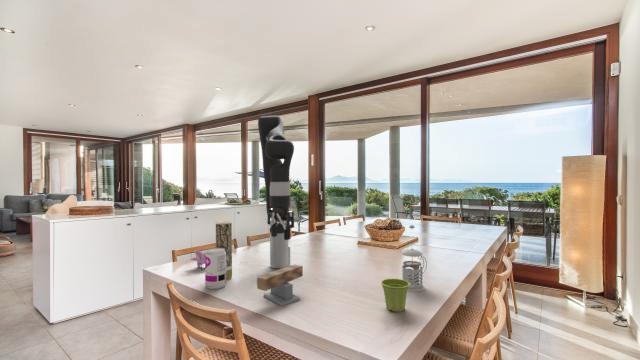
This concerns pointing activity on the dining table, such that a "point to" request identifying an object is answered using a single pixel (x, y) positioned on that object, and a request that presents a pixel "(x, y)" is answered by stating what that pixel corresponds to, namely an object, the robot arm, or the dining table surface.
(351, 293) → the dining table surface
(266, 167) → the robot arm
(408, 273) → the french press
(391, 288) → the plant pot
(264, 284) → the batten
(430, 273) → the dining table surface
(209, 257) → the supplement can
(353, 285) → the dining table surface
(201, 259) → the lily
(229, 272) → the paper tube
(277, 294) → the ridge
